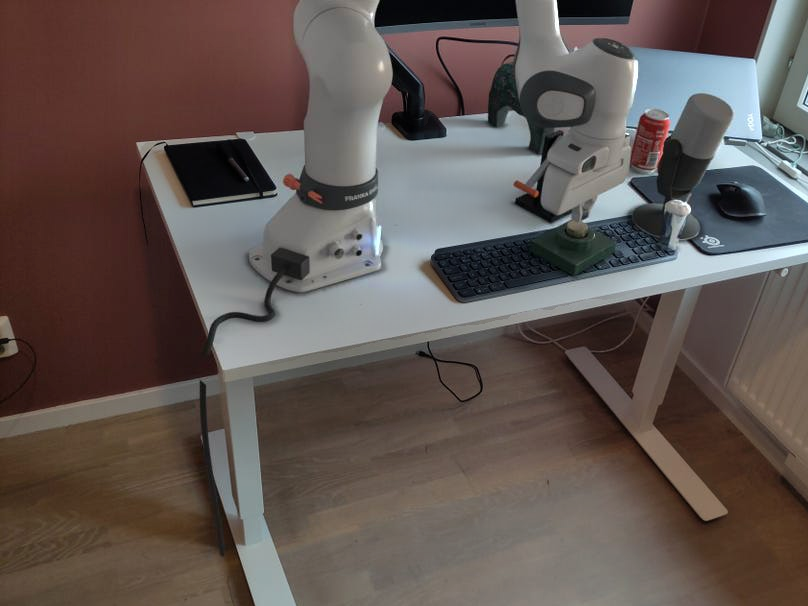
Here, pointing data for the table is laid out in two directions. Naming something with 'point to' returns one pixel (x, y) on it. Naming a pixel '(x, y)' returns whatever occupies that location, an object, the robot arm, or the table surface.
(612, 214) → the table surface
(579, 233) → the button
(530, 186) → the switch lever
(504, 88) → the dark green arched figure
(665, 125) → the beverage can
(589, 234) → the button housing
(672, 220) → the milkshake
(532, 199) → the switch bracket
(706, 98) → the microphone
